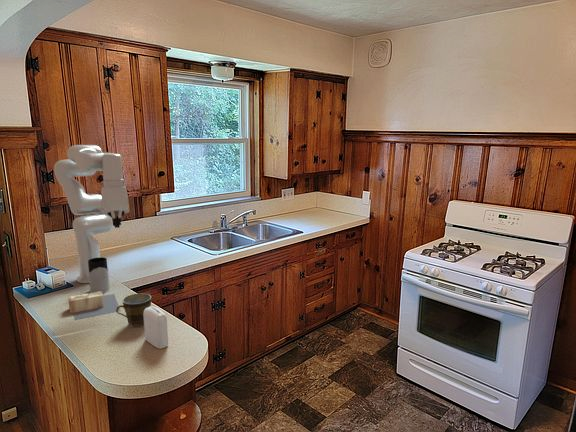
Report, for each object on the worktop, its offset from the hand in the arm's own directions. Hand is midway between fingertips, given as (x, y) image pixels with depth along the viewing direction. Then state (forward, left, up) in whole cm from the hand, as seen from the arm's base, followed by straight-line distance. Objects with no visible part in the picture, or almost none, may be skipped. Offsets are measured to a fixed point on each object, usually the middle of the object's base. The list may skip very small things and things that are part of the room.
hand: (117, 227), depth 162 cm
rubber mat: (+7, -11, -31) cm, 34 cm away
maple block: (+7, -8, -28) cm, 30 cm away
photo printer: (+48, +4, -31) cm, 57 cm away
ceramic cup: (+31, 0, -31) cm, 44 cm away
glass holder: (-13, -8, -31) cm, 35 cm away
